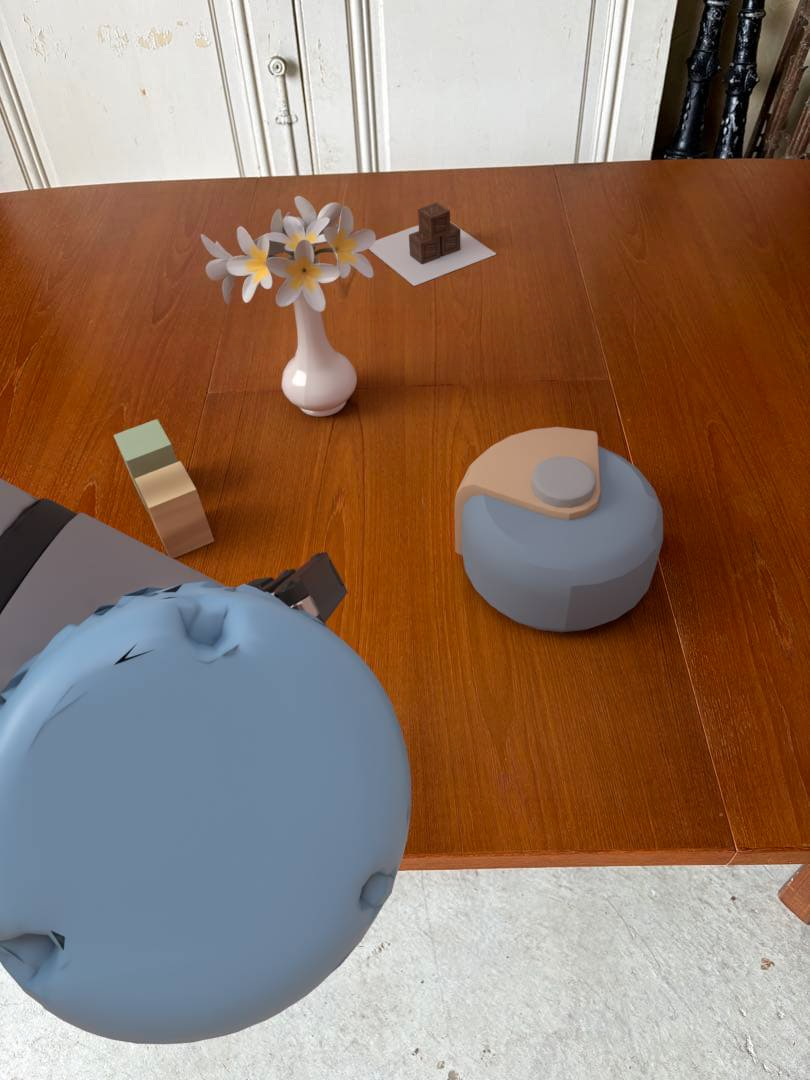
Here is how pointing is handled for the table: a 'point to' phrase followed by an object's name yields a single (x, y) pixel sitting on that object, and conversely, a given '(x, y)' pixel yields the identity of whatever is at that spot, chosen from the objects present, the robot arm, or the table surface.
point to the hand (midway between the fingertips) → (156, 658)
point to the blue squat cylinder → (557, 529)
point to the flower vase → (302, 293)
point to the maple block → (175, 509)
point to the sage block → (145, 450)
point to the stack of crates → (430, 247)
